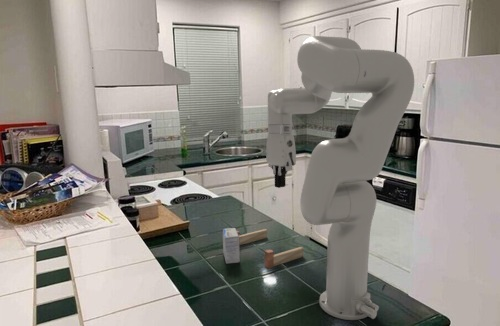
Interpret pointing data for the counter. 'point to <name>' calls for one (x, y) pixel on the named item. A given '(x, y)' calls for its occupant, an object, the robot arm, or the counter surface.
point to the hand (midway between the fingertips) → (280, 186)
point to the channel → (270, 258)
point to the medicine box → (231, 245)
